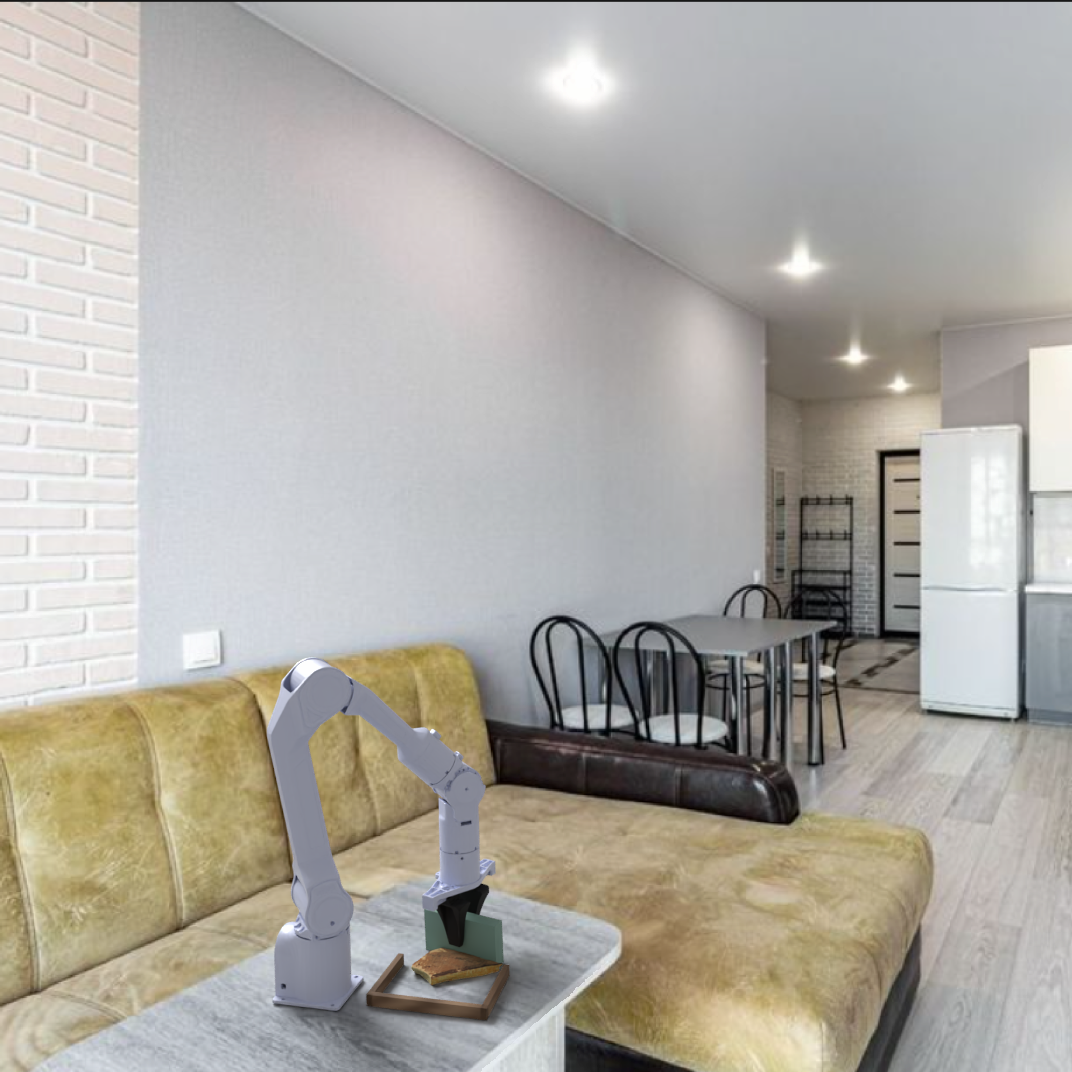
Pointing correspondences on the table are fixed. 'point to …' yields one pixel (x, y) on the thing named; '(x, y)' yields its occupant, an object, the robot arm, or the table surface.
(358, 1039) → the table surface
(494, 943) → the bar
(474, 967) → the shard
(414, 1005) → the walnut frame
